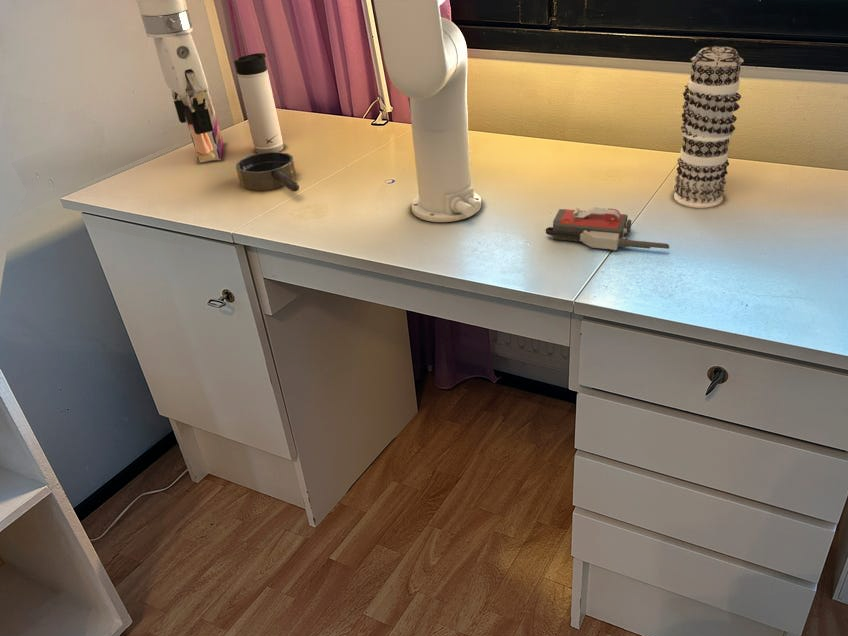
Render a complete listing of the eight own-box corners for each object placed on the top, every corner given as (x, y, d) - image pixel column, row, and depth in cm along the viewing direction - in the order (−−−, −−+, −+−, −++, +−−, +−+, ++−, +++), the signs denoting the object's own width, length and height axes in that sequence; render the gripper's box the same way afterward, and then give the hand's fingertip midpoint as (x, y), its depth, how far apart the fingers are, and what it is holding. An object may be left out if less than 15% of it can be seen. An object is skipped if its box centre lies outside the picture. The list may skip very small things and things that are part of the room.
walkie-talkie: (542, 245, 119) (667, 258, 113) (541, 220, 116) (670, 232, 111) (554, 222, 125) (673, 232, 120) (554, 197, 123) (676, 208, 117)
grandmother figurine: (224, 156, 136) (206, 86, 128) (205, 163, 134) (186, 92, 126) (203, 148, 140) (184, 80, 133) (185, 154, 138) (164, 85, 131)
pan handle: (301, 191, 136) (299, 182, 135) (292, 194, 135) (290, 184, 134) (280, 176, 143) (278, 167, 142) (271, 178, 142) (269, 170, 141)
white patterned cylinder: (661, 200, 130) (677, 52, 116) (688, 183, 136) (706, 40, 121) (708, 213, 125) (730, 60, 110) (734, 195, 130) (758, 47, 116)
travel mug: (278, 155, 158) (257, 58, 147) (250, 154, 160) (227, 58, 148) (290, 144, 163) (270, 50, 152) (262, 144, 165) (241, 50, 153)
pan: (305, 181, 146) (302, 162, 143) (253, 197, 141) (248, 177, 138) (283, 166, 153) (279, 147, 151) (232, 180, 148) (227, 161, 146)
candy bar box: (201, 146, 165) (180, 71, 156) (224, 143, 166) (204, 68, 156) (197, 164, 156) (174, 85, 147) (221, 161, 157) (200, 82, 147)
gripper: (206, 27, 119) (233, 133, 130) (173, 12, 131) (200, 111, 141) (160, 35, 116) (191, 144, 126) (131, 19, 127) (161, 120, 138)
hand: (196, 126), depth 134 cm, fingers closed on grandmother figurine, 8 cm apart
